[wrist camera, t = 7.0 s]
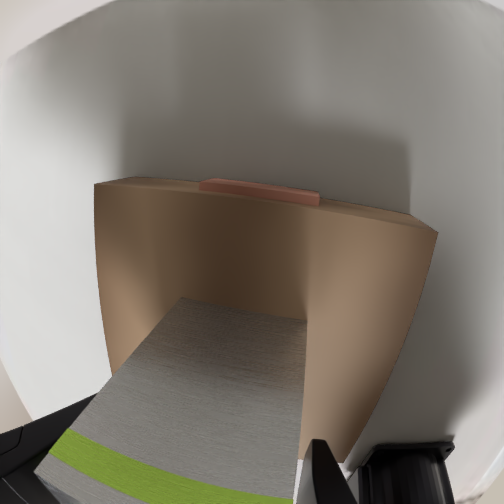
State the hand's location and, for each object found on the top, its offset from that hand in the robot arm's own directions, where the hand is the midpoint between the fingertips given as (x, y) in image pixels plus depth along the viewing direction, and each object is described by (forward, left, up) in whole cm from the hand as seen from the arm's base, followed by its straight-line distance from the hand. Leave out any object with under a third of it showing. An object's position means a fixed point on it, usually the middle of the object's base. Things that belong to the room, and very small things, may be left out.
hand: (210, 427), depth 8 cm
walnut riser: (0, 0, -6) cm, 6 cm away
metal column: (0, 0, -4) cm, 4 cm away
